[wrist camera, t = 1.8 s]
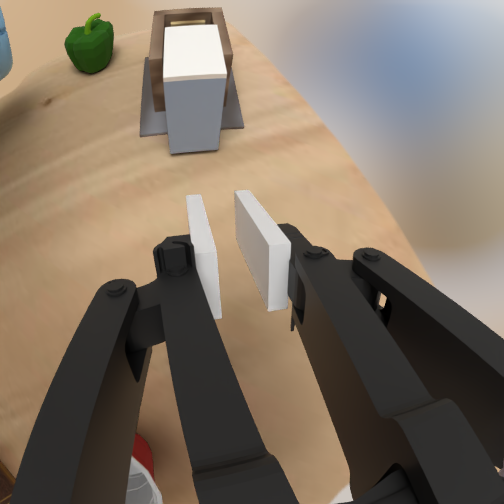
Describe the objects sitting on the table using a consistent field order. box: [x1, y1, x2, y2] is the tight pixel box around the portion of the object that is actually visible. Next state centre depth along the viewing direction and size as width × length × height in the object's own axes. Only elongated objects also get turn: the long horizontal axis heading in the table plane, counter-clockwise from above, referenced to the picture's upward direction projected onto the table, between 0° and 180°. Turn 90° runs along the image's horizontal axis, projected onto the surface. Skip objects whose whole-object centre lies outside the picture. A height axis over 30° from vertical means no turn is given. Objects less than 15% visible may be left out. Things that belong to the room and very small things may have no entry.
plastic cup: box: [125, 433, 163, 504], centre depth 21 cm, size 11×11×12 cm
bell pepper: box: [65, 13, 114, 73], centre depth 37 cm, size 8×8×10 cm
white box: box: [163, 25, 227, 154], centre depth 33 cm, size 6×10×13 cm, turn 10°
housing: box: [140, 8, 244, 137], centre depth 37 cm, size 14×18×10 cm
